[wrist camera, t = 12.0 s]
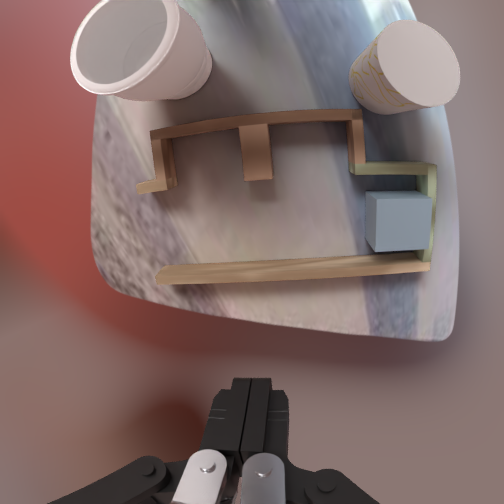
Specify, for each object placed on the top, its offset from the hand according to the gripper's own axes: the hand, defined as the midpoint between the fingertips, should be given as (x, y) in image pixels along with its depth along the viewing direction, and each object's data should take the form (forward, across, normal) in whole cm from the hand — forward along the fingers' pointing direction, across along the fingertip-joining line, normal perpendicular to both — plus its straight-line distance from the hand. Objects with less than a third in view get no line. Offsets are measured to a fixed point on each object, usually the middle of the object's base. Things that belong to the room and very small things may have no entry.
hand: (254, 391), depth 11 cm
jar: (+27, +10, -20) cm, 35 cm away
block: (+27, -14, 0) cm, 31 cm away
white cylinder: (+27, -14, -16) cm, 35 cm away
